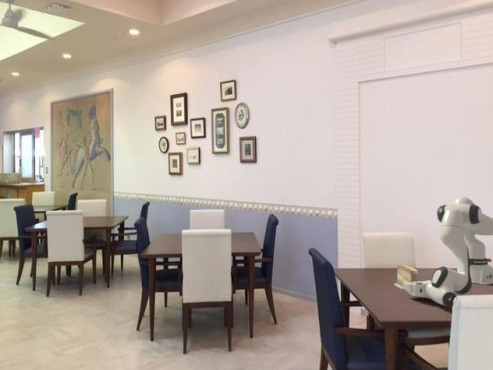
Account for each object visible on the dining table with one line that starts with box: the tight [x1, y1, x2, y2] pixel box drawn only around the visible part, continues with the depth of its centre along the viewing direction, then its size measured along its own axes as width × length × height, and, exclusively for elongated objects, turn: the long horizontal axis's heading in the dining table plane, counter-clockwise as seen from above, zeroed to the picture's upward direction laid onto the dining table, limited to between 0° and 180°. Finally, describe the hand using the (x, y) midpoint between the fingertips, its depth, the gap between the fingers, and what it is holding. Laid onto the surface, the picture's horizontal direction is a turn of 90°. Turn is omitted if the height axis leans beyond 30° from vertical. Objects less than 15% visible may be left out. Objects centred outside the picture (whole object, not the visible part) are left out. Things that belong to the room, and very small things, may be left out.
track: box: [394, 282, 405, 291], centre depth 238 cm, size 8×9×1 cm
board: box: [396, 264, 419, 287], centre depth 235 cm, size 4×14×12 cm, turn 9°
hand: (415, 282), depth 227 cm, fingers closed
